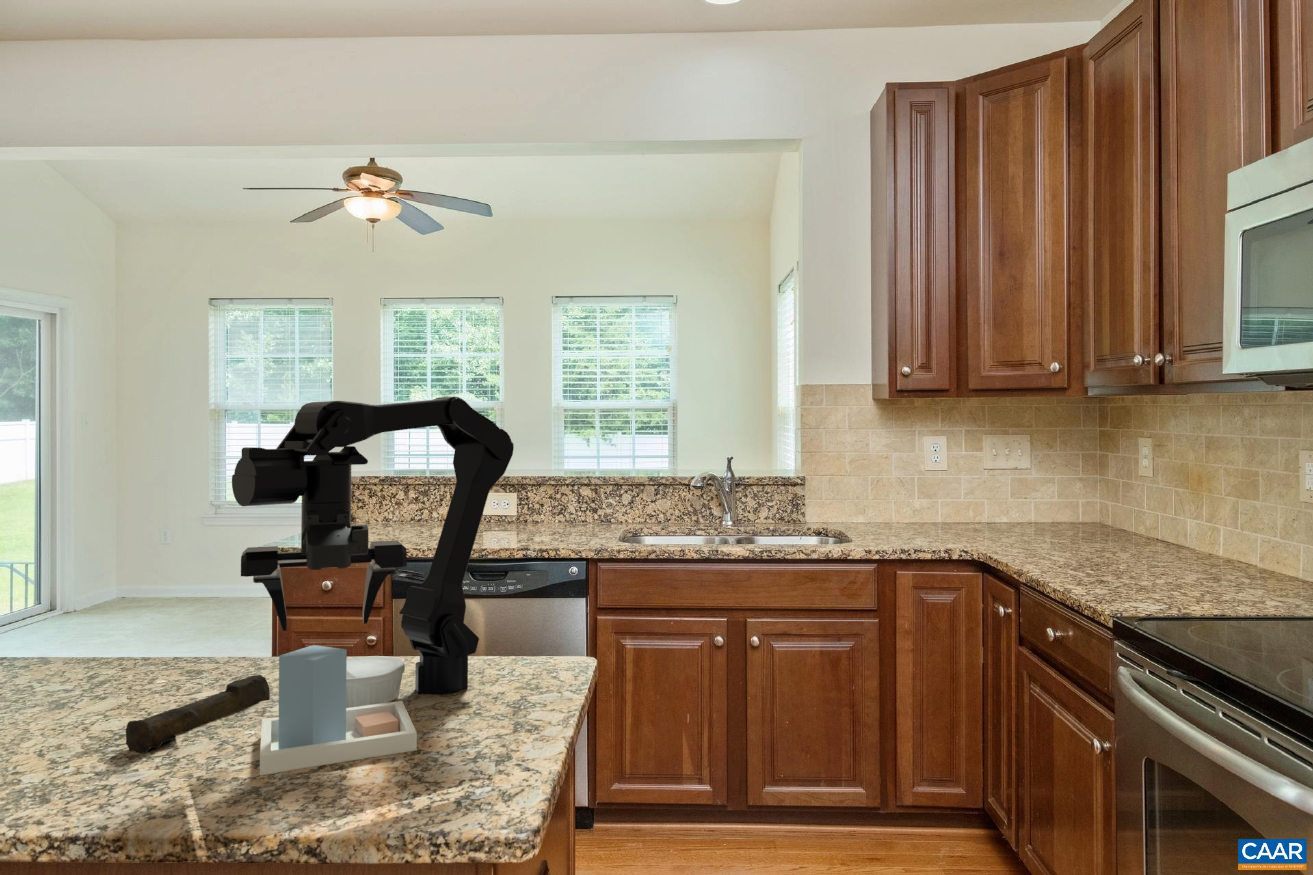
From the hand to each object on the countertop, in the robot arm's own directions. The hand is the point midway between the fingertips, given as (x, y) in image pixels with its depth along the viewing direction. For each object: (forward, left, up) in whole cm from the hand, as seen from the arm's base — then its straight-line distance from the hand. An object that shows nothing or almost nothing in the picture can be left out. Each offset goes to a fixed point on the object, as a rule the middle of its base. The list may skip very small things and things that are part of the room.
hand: (325, 626), depth 98 cm
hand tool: (+14, -9, -14) cm, 21 cm away
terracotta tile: (-6, +5, -12) cm, 14 cm away
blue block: (+2, +8, -12) cm, 15 cm away
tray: (-1, +7, -13) cm, 15 cm away
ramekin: (-5, -9, -13) cm, 17 cm away
